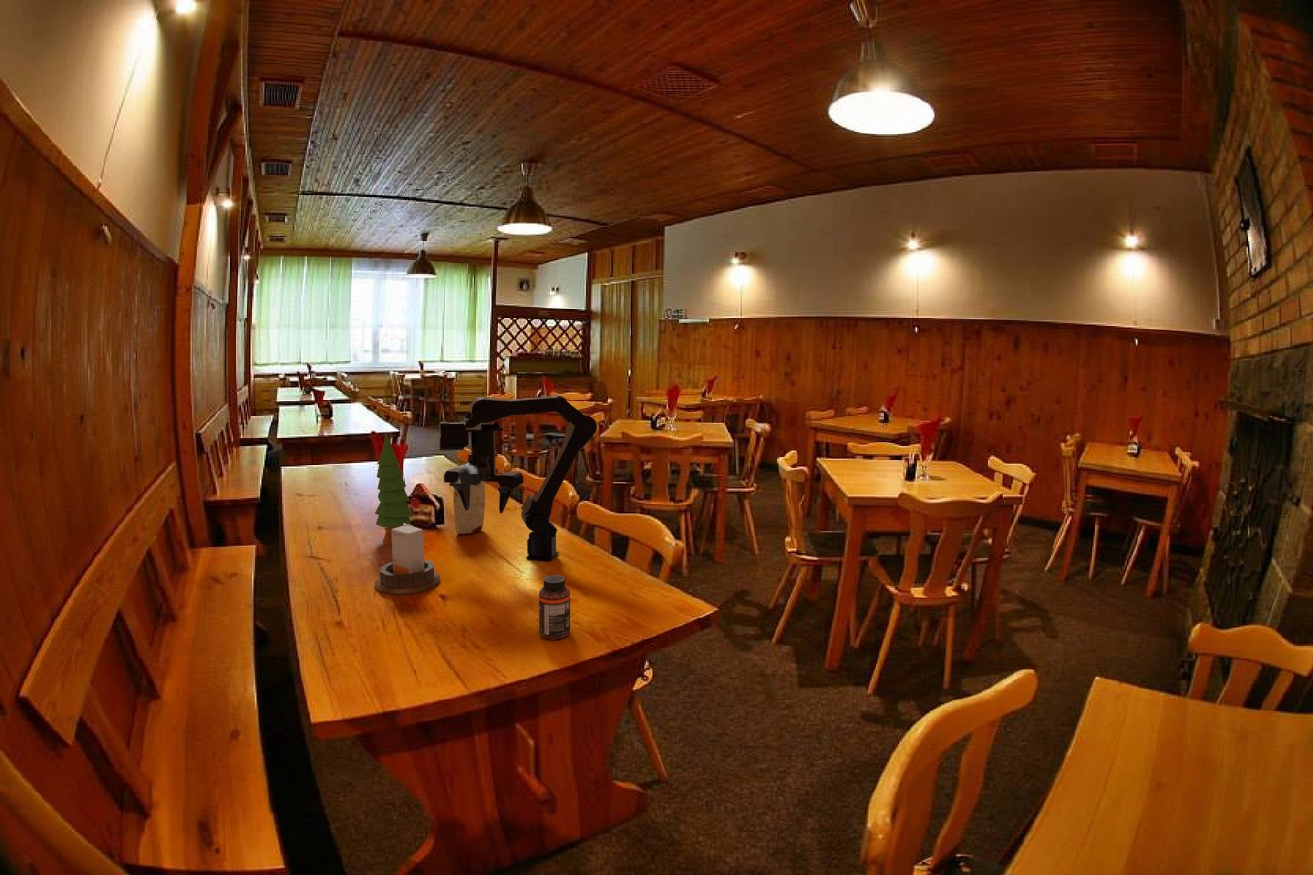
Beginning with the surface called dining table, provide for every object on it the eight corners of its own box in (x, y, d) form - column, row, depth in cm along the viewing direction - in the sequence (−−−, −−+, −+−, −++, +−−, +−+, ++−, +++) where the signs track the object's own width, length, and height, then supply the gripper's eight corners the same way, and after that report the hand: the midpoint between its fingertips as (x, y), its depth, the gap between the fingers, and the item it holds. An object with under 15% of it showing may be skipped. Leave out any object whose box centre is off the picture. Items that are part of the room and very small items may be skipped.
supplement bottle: (540, 628, 137) (539, 572, 135) (570, 627, 137) (570, 572, 135) (537, 641, 131) (537, 583, 129) (569, 641, 131) (569, 583, 129)
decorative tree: (371, 540, 189) (365, 431, 184) (403, 533, 196) (399, 428, 192) (389, 548, 183) (384, 435, 178) (421, 540, 190) (417, 432, 185)
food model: (462, 538, 193) (461, 467, 190) (448, 533, 197) (446, 464, 194) (491, 530, 200) (490, 462, 197) (476, 526, 204) (475, 459, 201)
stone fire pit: (451, 575, 164) (451, 560, 163) (418, 597, 150) (417, 580, 150) (398, 569, 167) (398, 554, 166) (361, 590, 154) (360, 574, 153)
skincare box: (392, 579, 158) (390, 528, 157) (407, 574, 162) (406, 524, 160) (410, 585, 155) (408, 533, 153) (425, 579, 159) (424, 528, 157)
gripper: (430, 452, 164) (432, 516, 166) (503, 457, 159) (504, 523, 162) (454, 445, 174) (456, 505, 177) (524, 449, 170) (524, 511, 173)
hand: (484, 511), depth 172 cm, fingers open, 9 cm apart
